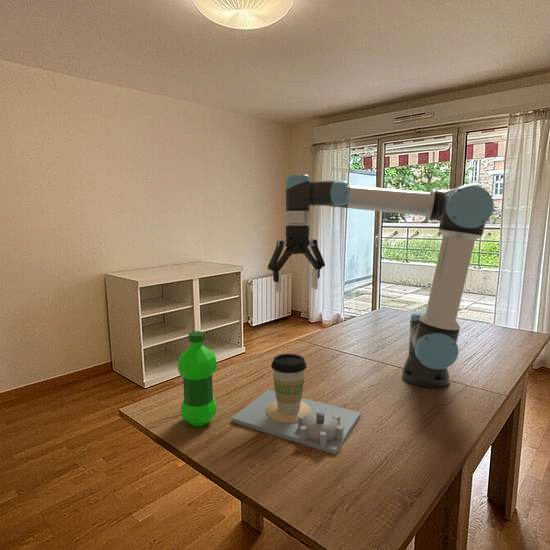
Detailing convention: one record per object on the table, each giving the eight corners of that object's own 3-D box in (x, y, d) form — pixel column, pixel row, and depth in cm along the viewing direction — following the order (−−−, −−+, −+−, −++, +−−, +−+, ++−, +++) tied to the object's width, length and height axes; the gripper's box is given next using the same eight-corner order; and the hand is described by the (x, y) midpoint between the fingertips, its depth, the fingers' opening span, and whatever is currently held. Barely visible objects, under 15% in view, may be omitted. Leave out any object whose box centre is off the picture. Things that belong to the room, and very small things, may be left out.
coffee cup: (281, 422, 103) (281, 368, 101) (265, 406, 112) (265, 356, 109) (312, 413, 107) (313, 362, 105) (294, 398, 116) (295, 350, 114)
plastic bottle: (195, 436, 99) (192, 342, 95) (172, 421, 106) (169, 333, 102) (225, 421, 106) (224, 333, 103) (202, 408, 114) (200, 325, 110)
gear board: (360, 416, 109) (361, 395, 108) (334, 455, 91) (335, 431, 90) (268, 392, 123) (268, 374, 122) (230, 422, 106) (230, 401, 105)
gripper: (323, 224, 132) (322, 285, 136) (257, 224, 121) (257, 291, 124) (336, 224, 126) (334, 288, 129) (267, 225, 115) (267, 295, 118)
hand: (296, 290), depth 127 cm, fingers open, 13 cm apart
